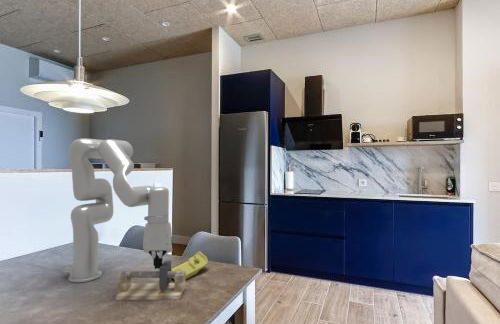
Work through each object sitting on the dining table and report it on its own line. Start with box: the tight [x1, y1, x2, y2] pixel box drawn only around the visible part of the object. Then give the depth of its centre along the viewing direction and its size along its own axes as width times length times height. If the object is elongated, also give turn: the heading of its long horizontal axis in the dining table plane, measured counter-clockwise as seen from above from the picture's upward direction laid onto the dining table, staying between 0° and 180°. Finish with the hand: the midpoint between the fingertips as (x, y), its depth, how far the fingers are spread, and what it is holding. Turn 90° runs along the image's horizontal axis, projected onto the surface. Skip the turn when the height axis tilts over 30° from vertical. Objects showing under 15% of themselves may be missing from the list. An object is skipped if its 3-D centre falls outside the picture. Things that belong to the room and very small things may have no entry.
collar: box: [158, 260, 172, 290], centre depth 111 cm, size 2×8×8 cm, turn 2°
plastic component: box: [171, 251, 209, 281], centre depth 131 cm, size 20×7×10 cm
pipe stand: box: [115, 270, 186, 301], centre depth 111 cm, size 24×11×8 cm, turn 92°
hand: (157, 267), depth 111 cm, fingers closed
